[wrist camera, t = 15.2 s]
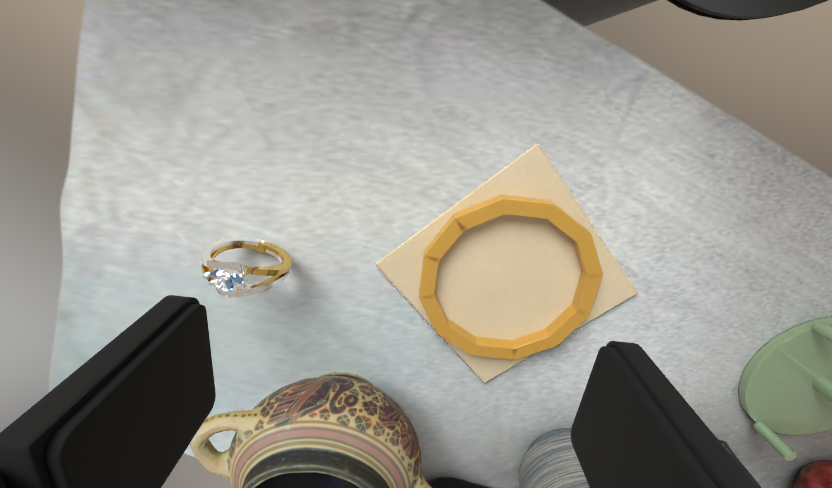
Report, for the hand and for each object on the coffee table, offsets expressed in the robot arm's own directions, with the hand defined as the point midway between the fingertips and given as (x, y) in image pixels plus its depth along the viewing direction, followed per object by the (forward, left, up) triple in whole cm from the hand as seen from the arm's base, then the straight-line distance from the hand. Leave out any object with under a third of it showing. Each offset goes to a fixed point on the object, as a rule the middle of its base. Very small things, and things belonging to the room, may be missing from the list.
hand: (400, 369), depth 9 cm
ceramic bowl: (+24, +16, -26) cm, 39 cm away
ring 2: (0, +14, -25) cm, 29 cm away
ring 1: (+16, -3, -26) cm, 31 cm away
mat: (0, +14, -26) cm, 30 cm away
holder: (-19, +44, -26) cm, 55 cm away
